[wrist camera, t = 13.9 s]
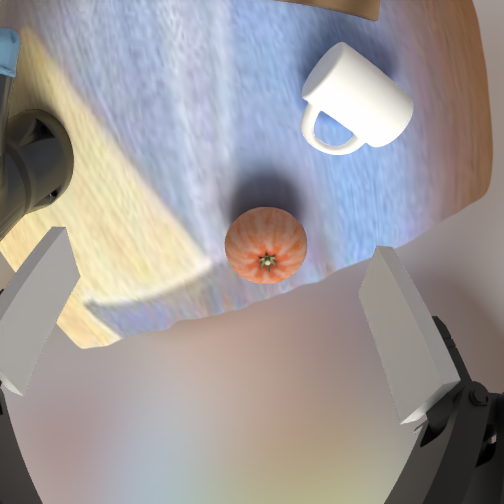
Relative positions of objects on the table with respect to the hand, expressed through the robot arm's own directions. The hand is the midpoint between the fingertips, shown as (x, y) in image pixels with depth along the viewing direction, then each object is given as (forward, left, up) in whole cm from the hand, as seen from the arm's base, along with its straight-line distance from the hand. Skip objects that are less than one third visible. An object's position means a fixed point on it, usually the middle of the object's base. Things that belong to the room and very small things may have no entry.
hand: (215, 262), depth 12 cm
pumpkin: (+5, -15, -27) cm, 31 cm away
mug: (+12, +4, -27) cm, 30 cm away
